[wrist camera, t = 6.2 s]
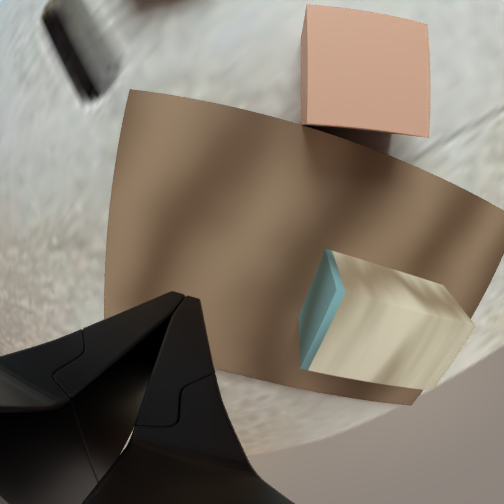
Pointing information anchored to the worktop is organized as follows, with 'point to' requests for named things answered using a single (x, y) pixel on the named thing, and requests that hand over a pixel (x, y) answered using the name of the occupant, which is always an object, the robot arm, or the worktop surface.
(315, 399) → the worktop surface
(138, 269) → the walnut board
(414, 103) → the terracotta cube
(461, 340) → the maple block
